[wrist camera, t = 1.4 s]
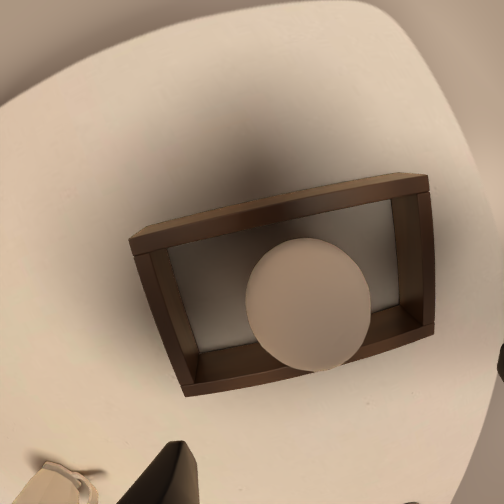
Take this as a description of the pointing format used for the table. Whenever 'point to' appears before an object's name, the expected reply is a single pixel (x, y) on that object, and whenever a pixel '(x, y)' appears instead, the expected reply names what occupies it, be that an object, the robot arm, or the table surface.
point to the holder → (273, 211)
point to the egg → (308, 304)
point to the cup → (55, 487)
